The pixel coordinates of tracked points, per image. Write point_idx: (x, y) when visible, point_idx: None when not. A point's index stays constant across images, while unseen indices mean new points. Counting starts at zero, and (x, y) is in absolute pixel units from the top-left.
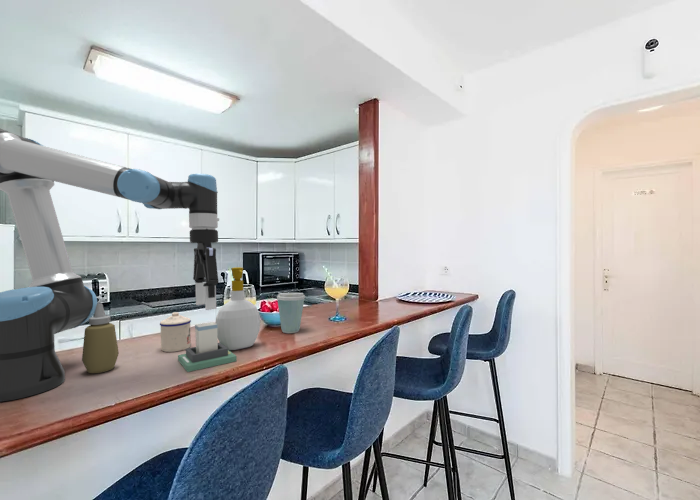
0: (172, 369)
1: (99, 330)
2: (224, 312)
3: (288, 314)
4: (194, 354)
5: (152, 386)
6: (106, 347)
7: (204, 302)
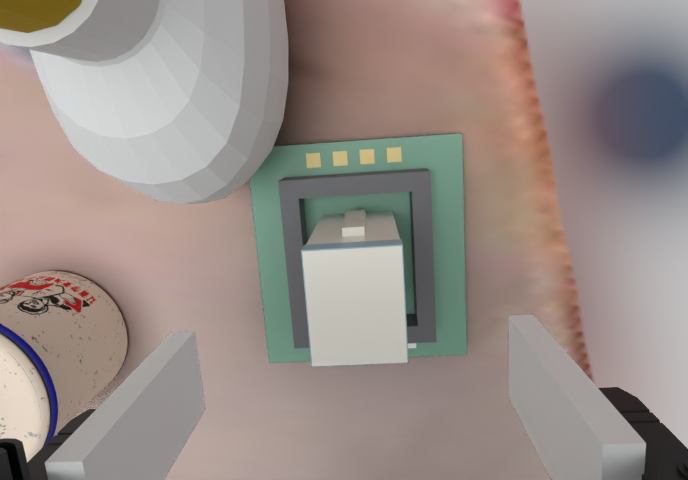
0: (387, 386)
1: None
2: (220, 156)
3: None
4: (424, 331)
5: (535, 463)
6: None
7: (192, 351)
